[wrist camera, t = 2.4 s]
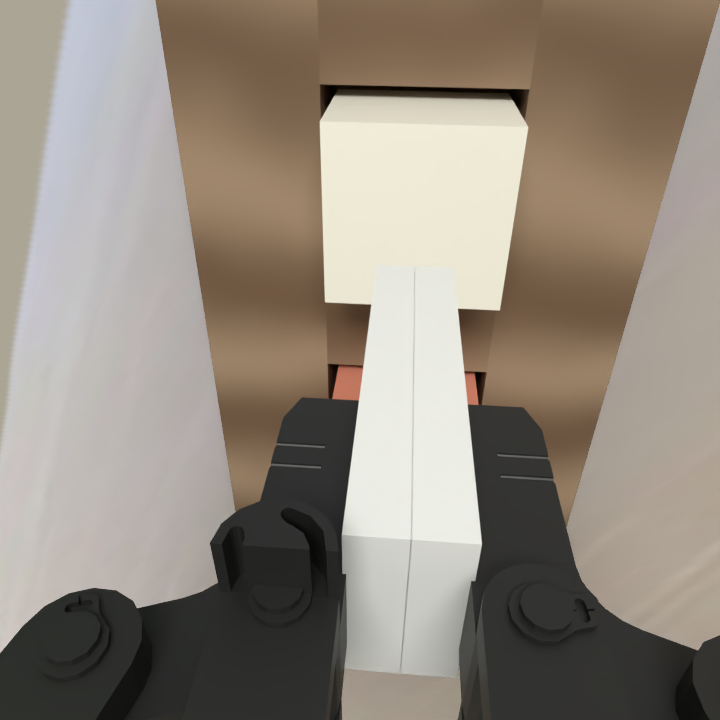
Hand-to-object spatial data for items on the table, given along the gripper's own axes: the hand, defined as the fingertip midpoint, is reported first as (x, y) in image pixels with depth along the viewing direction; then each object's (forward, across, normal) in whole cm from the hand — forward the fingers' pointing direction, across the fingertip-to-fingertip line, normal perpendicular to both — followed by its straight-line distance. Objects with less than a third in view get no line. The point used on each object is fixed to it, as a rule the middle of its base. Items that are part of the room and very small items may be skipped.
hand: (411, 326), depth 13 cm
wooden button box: (+14, 0, +11) cm, 18 cm away
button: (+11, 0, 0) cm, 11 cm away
